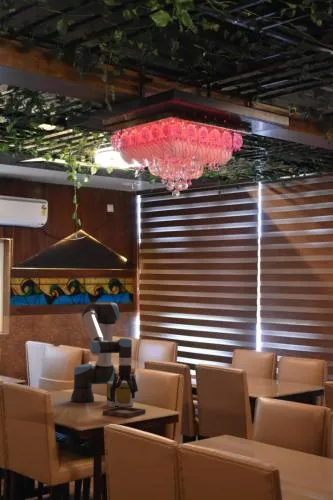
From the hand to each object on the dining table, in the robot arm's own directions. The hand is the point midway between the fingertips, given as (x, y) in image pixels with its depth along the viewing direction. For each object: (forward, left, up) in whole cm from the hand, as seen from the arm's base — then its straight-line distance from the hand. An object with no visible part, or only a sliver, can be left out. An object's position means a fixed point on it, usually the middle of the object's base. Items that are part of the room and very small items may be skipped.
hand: (124, 403), depth 391 cm
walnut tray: (0, 0, -7) cm, 7 cm away
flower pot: (0, 0, 0) cm, 0 cm away
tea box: (-19, +22, -7) cm, 30 cm away
